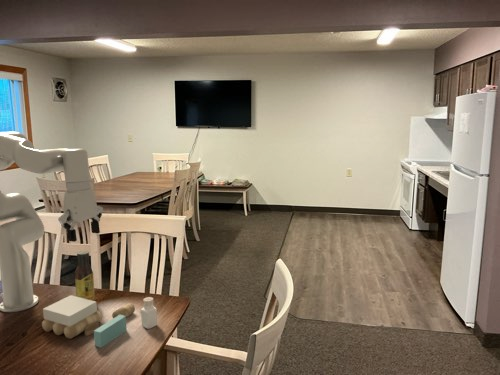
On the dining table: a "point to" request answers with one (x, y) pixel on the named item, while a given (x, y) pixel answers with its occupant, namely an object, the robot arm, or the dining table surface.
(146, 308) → the pepper shaker
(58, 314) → the slab
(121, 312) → the roller
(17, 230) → the robot arm
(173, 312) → the dining table surface
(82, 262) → the sauce bottle
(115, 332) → the block
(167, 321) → the dining table surface
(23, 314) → the dining table surface
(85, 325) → the roller track
